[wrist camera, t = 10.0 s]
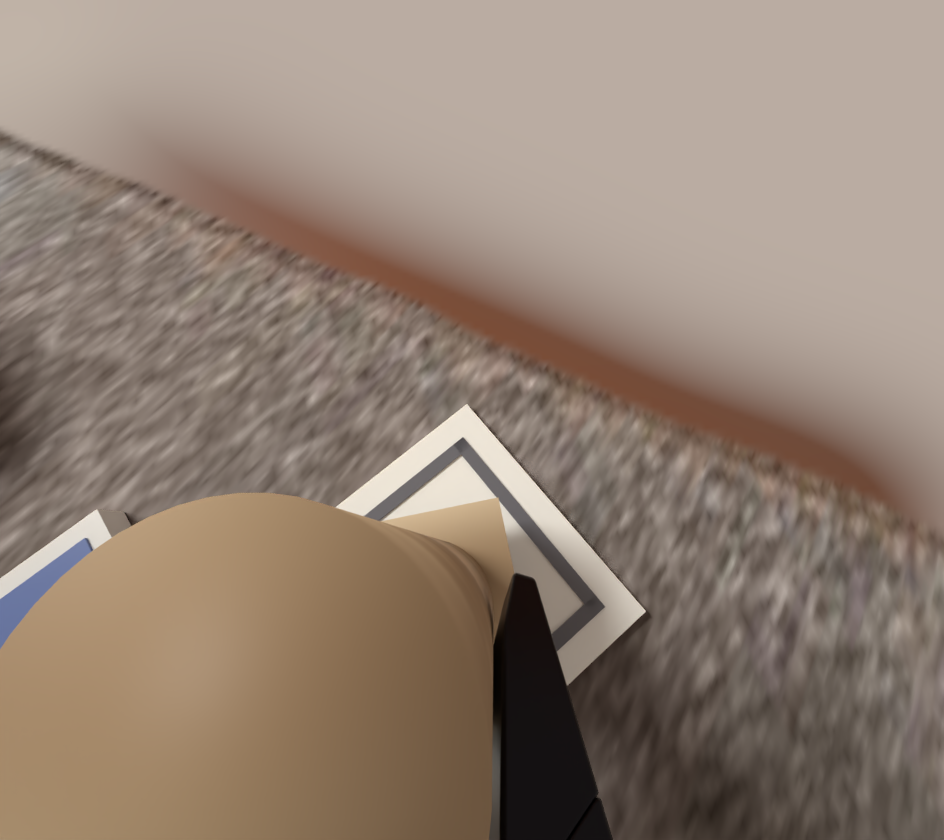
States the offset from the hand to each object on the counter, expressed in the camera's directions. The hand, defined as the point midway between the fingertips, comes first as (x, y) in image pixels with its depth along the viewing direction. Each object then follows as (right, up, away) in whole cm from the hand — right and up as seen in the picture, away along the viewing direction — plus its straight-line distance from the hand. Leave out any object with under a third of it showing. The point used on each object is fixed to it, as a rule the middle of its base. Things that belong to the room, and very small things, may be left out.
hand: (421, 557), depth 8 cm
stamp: (0, -3, +6) cm, 7 cm away
